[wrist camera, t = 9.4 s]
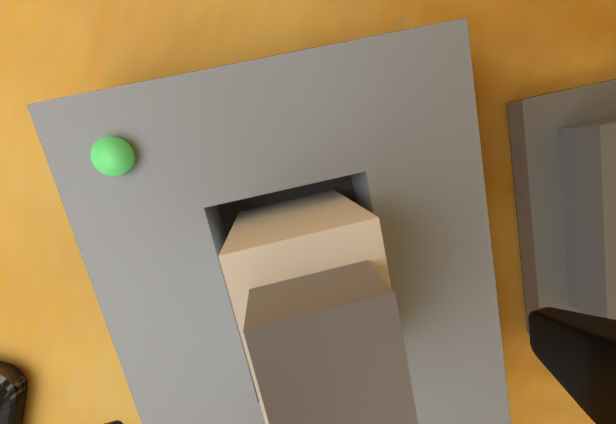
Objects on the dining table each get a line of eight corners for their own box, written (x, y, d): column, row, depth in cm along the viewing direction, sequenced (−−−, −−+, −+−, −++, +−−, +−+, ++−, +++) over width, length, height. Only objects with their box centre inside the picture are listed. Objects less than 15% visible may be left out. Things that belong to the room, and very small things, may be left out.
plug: (360, 318, 16) (452, 490, 8) (273, 341, 15) (277, 543, 7) (333, 189, 14) (411, 237, 7) (239, 211, 14) (202, 289, 6)
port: (459, 366, 18) (516, 431, 14) (198, 438, 17) (175, 530, 13) (415, 51, 15) (472, 14, 11) (93, 116, 14) (19, 102, 10)
